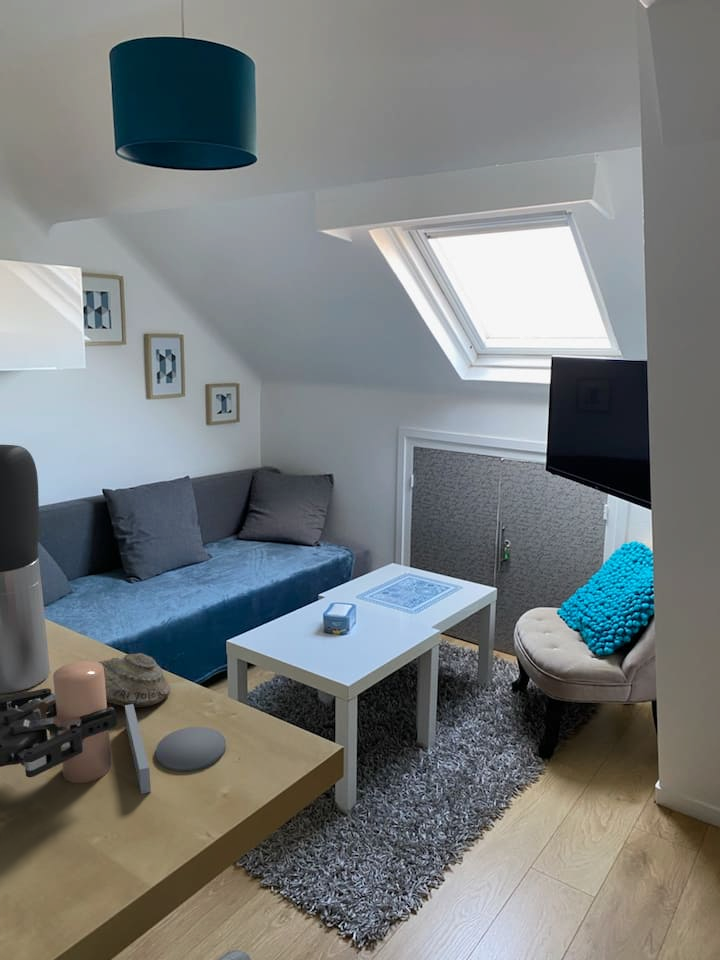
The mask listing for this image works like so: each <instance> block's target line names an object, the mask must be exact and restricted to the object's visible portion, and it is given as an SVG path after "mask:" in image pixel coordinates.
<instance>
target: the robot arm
mask: <svg viewBox="0 0 720 960" xmlns="http://www.w3.org/2000/svg"><path fill="white" fill-rule="evenodd" d="M35 462H36V461H35V460H34V458H33V455H32V454H31V452H29V450H28V449H26V448H25V447H23V446H20V445H15V444H0V694H9V693H10V694H11V693H15V692H20V691H23V690H26V689H30V688H32V687H34V686H37V685H38V684H40V683H41V682H43V681H44V680H46V678H48V676H49V675H50V673H51V669H50V658H49V656H50V655H49V649H48V648H49V647H48V636H47V635H48V634H47V625H46V616H45V608H44V607H45V605H44V598H43V597H44V596H43V585H42V578H41V567H40V559H39V542H40V541H39V540H40V536H41V535H40V532H41V523H40V522H41V521H40V519H41V518H40V508H39V507H40V504H39V503H40V502H39V501H40V500H39V479H38V478H39V477H38V471H37V467H36V466H37V465H36V463H35ZM117 725H118V719H117V711H116V709H115V708H114V707H113V706H109V707H108V706H107V708H105V709H102V710H99V711H96V712H93V713H91V714H88V715H84V716H81V717H80V719H78V718H76V719H69V720H62V721H59V720H58V719H57V711H56V701H55V692H54V693H52V689H51V688H41V689H36V690H32V691H26V692H22V693H18V694H17V693H16V694H11V695H7V696H2V697H0V768H2V767H6V766H12V765H13V766H14V765H19V764H20V765H21V766H23V767H24V770H25V772H24V773H25V777H26V778H34V777H36V776H38V775H40V774H42V773H45V772H46V771H48V770H50V769H52V768H54V767H57V766H59V765H60V764H62V762H64V761H66V760H68V759H71V758H73V757H75V756H77V755H79V754H80V753H82V751H83V749H82V742H83V740H84V739H85V738H86V737H89V736H92V735H95V734H98V733H100V732H103V731H106V730H109V731H110V729H111V730H112V729H114V728H115V727H116V726H117ZM68 729H69V730H68ZM61 730H68V731H66V732H64V733H62V734H60V735H59V731H61ZM48 732H49V738H48ZM66 746H70V748H67V749H65V750H63V751H61V747H66Z"/></svg>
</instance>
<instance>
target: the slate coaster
mask: <svg viewBox="0 0 720 960" xmlns="http://www.w3.org/2000/svg"><path fill="white" fill-rule="evenodd" d="M226 746H227V744H226V738H225V736H224V734H222V733H221V732H220V731H219V730H217V729H214V728H210V727H206V726H191V727H190V726H188V727H185V728H181V729H177V730H175V731H172V732H169V734H167V735H165V736H164V737H163V738H161V739H160V741H158V743H157V746H156V749H155V753H156V754H155V755H156V760H157V762H158V763H159V764H160V765H161V766H162V767H164V768H166V769H168V770H172V771H179V772H192V771H197V770H200V769H204V768H207V767H208V766H211V765H213V764H214V763H216V762H217V761H219V760H220V759H221V758H222V757H223V755H224V754H225V752H226V748H227V747H226Z"/></svg>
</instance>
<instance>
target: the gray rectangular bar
mask: <svg viewBox="0 0 720 960" xmlns="http://www.w3.org/2000/svg"><path fill="white" fill-rule="evenodd" d="M124 711H125V713H124V714H125V724H126V725H125V726H126V732H127V737H128V741H129V745H130V750H131V754H132V759H133V763H134V767H135V772H136V777H137V781H138V785H139V791H140V794H141V795H145V794H147V793H151V791H152V790H151V773H150V772H151V771H150V766H149V762H148V757H147V754H146V753H147V752H146V749H145V746H144V742H143V741H144V740H143V737H142V734H141V731H140V726H139V721H138V718H137V717H138V716H137V714H136V710H135V707H134V705H133V704H130V705H125V706H124Z"/></svg>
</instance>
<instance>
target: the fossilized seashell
mask: <svg viewBox="0 0 720 960" xmlns="http://www.w3.org/2000/svg"><path fill="white" fill-rule="evenodd" d="M97 662H98V663H100V664H102V665H103V667H104V677H105V690H106V702H108V703H111V704H114V705H118V706H121V707H125V705H130V704H133V705H134V708H143V707H144V708H145V707H150V706H153V705H156V704H158V703H160V702H162V701H163V700H165V699H166V698H167V697H168V696H169V695H170V694H171V687H170V684H169V682H168V681H167V680H166V677H165V675H164V671H163V669H162V667H161V666H159V665H158V663H157V662H156V660H155V659H154V658H153V657H152V656H149V655H147V654H145V653H140V652H139V653H129V654H125V656H124V657H122V658H119V657H113V658H110V659H105V660H102V661H97Z"/></svg>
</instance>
